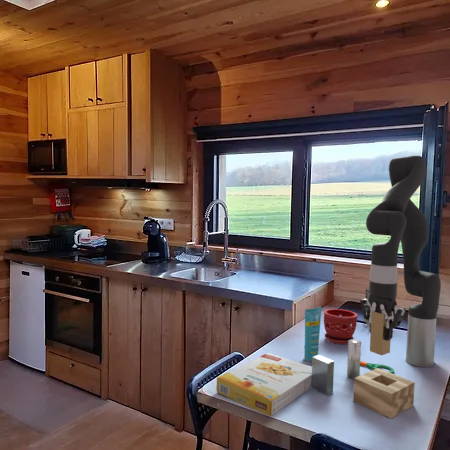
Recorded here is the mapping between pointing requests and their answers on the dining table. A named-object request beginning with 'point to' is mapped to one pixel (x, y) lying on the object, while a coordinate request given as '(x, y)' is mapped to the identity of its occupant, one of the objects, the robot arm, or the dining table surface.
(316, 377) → the brushed grey-blue block
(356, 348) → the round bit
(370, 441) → the dining table surface
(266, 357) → the cereal box
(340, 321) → the plant pot
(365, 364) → the magnifying glass
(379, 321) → the square bit
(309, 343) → the tube
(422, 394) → the dining table surface
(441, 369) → the dining table surface
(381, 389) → the socket block
